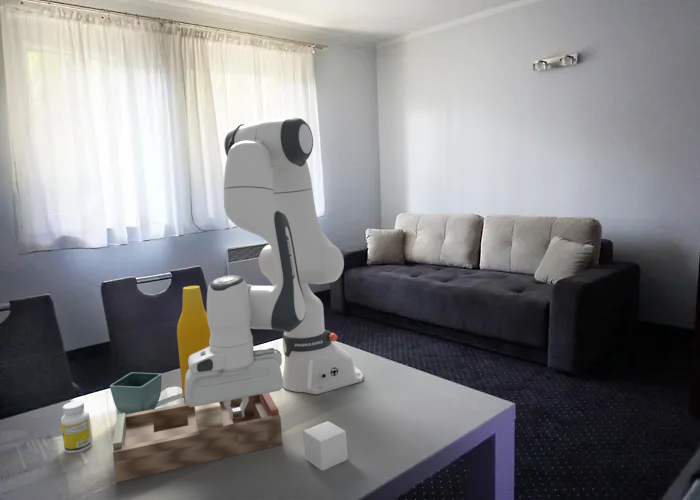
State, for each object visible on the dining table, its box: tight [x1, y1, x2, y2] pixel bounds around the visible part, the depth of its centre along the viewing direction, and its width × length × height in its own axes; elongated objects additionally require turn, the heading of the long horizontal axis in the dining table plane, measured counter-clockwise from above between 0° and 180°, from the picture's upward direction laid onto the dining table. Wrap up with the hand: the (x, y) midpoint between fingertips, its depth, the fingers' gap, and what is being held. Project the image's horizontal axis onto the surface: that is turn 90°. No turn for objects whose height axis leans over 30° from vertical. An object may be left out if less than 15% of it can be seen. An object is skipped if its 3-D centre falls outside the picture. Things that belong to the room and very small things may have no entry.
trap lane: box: [112, 393, 283, 483], centre depth 109 cm, size 32×17×7 cm, turn 111°
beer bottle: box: [176, 285, 210, 398], centre depth 134 cm, size 9×9×29 cm
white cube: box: [303, 420, 348, 472], centre depth 100 cm, size 6×6×6 cm
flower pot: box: [109, 371, 163, 414], centre depth 125 cm, size 9×9×9 cm
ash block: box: [195, 402, 223, 431], centre depth 106 cm, size 5×5×5 cm
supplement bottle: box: [60, 400, 93, 454], centre depth 109 cm, size 5×5×10 cm
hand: (237, 417), depth 108 cm, fingers closed
